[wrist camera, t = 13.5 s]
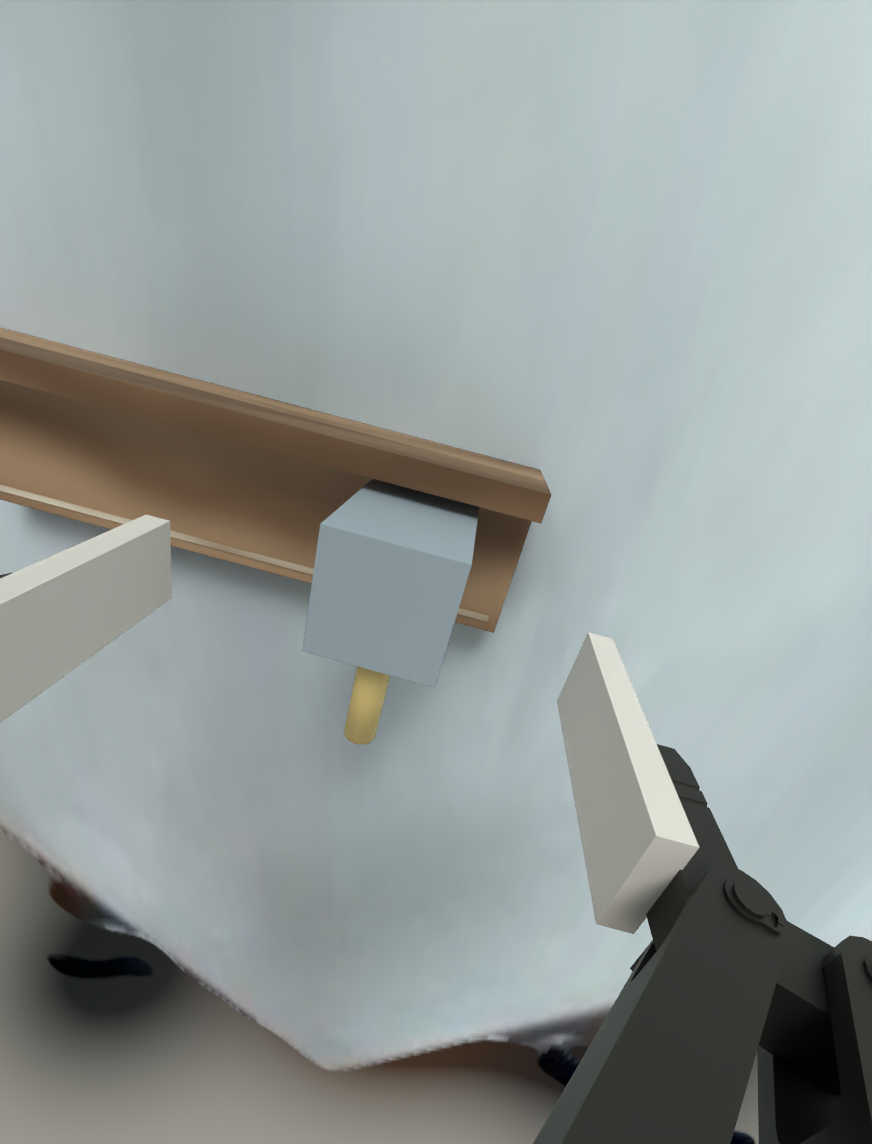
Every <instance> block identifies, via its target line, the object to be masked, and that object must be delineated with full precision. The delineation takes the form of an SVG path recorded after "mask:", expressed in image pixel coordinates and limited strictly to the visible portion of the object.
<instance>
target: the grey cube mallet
mask: <svg viewBox="0 0 872 1144" xmlns="http://www.w3.org/2000/svg"><path fill="white" fill-rule="evenodd" d="M478 513H479V507H478V506H474V505H470V504H466V503H463V502H459V501H455V500H451V499H448V498H444V497H440V496H436V495H432V494H429V493H425V492H421V491H417V490H414V489H410V488H406V487H402V486H399V485H395V484H391V483H387V482H383V481H380V480H376V479H372V480H371V481H370V482H368V483H367V484H366V485H365V486H364V487H363V488H361V489H360V490H359V491H358V492H357V493H356V494H354V495H353V496H352V497H351V498H350V499H349V500H348V501H346V502H345V503H344V504H343V505H342V506H341V507H339V508H338V509H337V510H336V511H335V512H334V513H332V514H331V515H330V516H329V517H328V518H327V519H325V520H324V521H323V522H322V523H321V524H320V530H319V537H318V544H317V551H316V558H315V565H314V572H313V579H312V586H311V592H310V599H309V606H308V613H307V620H306V627H305V634H304V641H303V648H302V651H304V652H308V653H311V654H315V655H318V656H322V657H326V658H329V659H333V660H337V661H340V662H344V663H347V664H351V665H355V666H358V667H357V671H356V676H355V681H354V686H353V691H352V695H351V700H350V705H349V710H348V715H347V720H346V724H345V729H344V734H345V736H346V738H347V739H348V740H349V741H351V742H352V743H355V744H367V743H370V742H371V741H372V740H373V739H374V738H375V735H376V731H377V727H378V723H379V719H380V715H381V711H382V706H383V702H384V698H385V694H386V690H387V686H388V682H389V678H390V675H391V676H394V677H398V678H402V679H405V680H409V681H412V682H416V683H420V684H423V685H427V686H431V687H434V688H435V685H436V682H437V679H438V676H439V672H440V669H441V666H442V662H443V659H444V656H445V652H446V649H447V646H448V642H449V639H450V636H451V632H452V629H453V626H454V622H455V619H456V616H457V612H458V609H459V606H460V602H461V599H462V596H463V592H464V589H465V586H466V582H467V579H468V576H469V572H470V569H471V566H472V559H473V551H474V544H475V536H476V528H477V521H478Z"/></svg>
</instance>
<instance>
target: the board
mask: <svg viewBox="0 0 872 1144" xmlns="http://www.w3.org/2000/svg"><path fill="white" fill-rule="evenodd" d="M372 479H376V480H380V481H383V482H387V483H391V484H395V485H399V486H402V487H406V488H410V489H414V490H417V491H421V492H425V493H429V494H432V495H436V496H440V497H444V498H448V499H451V500H455V501H459V502H463V503H466V504H470V505H474V506H478V507H479V513H478V521H477V528H476V536H475V544H474V551H473V559H472V566H471V569H470V572H469V576H468V579H467V582H466V586H465V589H464V592H463V596H462V599H461V602H460V606H459V609H458V612H457V616H456V619H455V622H457V623H460V624H464V625H468V626H471V627H475V628H479V629H483V630H486V631H490V632H494V630H495V628H496V625H497V622H498V619H499V616H500V613H501V610H502V607H503V604H504V601H505V598H506V595H507V592H508V589H509V586H510V583H511V580H512V577H513V574H514V572H515V569H516V566H517V563H518V560H519V557H520V554H521V551H522V548H523V545H524V542H525V539H526V536H527V533H528V530H529V527H530V524H531V521H534V522H538V523H542V520H543V517H544V514H545V511H546V508H547V506H548V503H549V500H550V497H551V493H550V491H549V489H548V486H547V484H546V482H545V480H544V477H543V475H542V473H541V470H538V469H534V468H531V467H527V466H523V465H519V464H516V463H512V462H508V461H504V460H500V459H497V458H493V457H489V456H485V455H481V454H478V453H474V452H470V451H466V450H462V449H459V448H455V447H451V446H447V445H443V444H440V443H436V442H432V441H428V440H425V439H421V438H417V437H413V436H409V435H406V434H402V433H398V432H394V431H390V430H387V429H383V428H379V427H375V426H371V425H368V424H364V423H360V422H356V421H352V420H349V419H345V418H341V417H337V416H333V415H330V414H326V413H322V412H318V411H315V410H311V409H307V408H303V407H299V406H296V405H292V404H288V403H284V402H280V401H277V400H273V399H269V398H265V397H261V396H258V395H254V394H250V393H246V392H242V391H239V390H235V389H231V388H227V387H224V386H220V385H216V384H212V383H208V382H205V381H201V380H197V379H193V378H189V377H186V376H182V375H178V374H174V373H170V372H167V371H163V370H159V369H155V368H151V367H148V366H144V365H140V364H136V363H133V362H129V361H125V360H121V359H117V358H114V357H110V356H106V355H102V354H98V353H95V352H91V351H87V350H83V349H79V348H76V347H72V346H68V345H64V344H60V343H57V342H53V341H49V340H45V339H42V338H38V337H34V336H30V335H26V334H23V333H19V332H15V331H11V330H7V329H4V328H0V500H4V501H8V502H12V503H15V504H19V505H23V506H26V507H30V508H34V509H37V510H41V511H45V512H49V513H52V514H56V515H60V516H63V517H67V518H71V519H75V520H78V521H82V522H86V523H89V524H93V525H97V526H101V527H104V528H108V529H114V528H116V527H119V526H121V525H123V524H126V523H128V522H130V521H132V520H135V519H137V518H139V517H142V516H144V515H150V516H154V517H157V518H161V519H165V520H169V521H170V537H171V546H175V547H178V548H182V549H186V550H190V551H193V552H197V553H201V554H204V555H208V556H212V557H215V558H219V559H223V560H227V561H230V562H234V563H238V564H241V565H245V566H249V567H253V568H256V569H260V570H264V571H267V572H271V573H275V574H279V575H282V576H286V577H290V578H293V579H297V580H301V581H305V582H308V583H312V579H313V572H314V565H315V558H316V551H317V544H318V537H319V530H320V524H321V523H322V522H323V521H324V520H325V519H327V518H328V517H329V516H330V515H331V514H332V513H334V512H335V511H336V510H337V509H338V508H339V507H341V506H342V505H343V504H344V503H345V502H346V501H348V500H349V499H350V498H351V497H352V496H353V495H354V494H356V493H357V492H358V491H359V490H360V489H361V488H363V487H364V486H365V485H366V484H367V483H368V482H370V481H371V480H372Z"/></svg>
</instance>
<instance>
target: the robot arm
mask: <svg viewBox="0 0 872 1144" xmlns="http://www.w3.org/2000/svg"><path fill="white" fill-rule="evenodd" d="M171 598H172V590H171V537H170V521H169V520H165V519H161V518H157V517H154V516H150V515H144V516H142V517H139V518H137V519H135V520H132V521H130V522H128V523H126V524H123V525H121V526H119V527H116V528H114V529H112V530H110V531H107V532H105V533H103V534H101V535H98V536H96V537H94V538H91V539H89V540H87V541H85V542H82V543H80V544H78V545H75V546H73V547H71V548H69V549H66V550H64V551H62V552H60V553H57V554H55V555H53V556H50V557H48V558H46V559H44V560H41V561H39V562H37V563H34V564H32V565H30V566H28V567H25V568H23V569H21V570H19V571H16V572H14V573H8V574H4V575H0V723H1V722H2V721H4V720H5V719H6V718H8V717H9V716H11V715H12V714H13V713H15V712H16V711H17V710H19V709H20V708H22V707H23V706H24V705H26V704H27V703H28V702H30V701H31V700H32V699H34V698H35V697H37V696H38V695H39V694H41V693H42V692H43V691H45V690H46V689H48V688H49V687H50V686H52V685H53V684H54V683H56V682H57V681H59V680H60V679H61V678H63V677H64V676H65V675H67V674H68V673H69V672H71V671H72V670H74V669H75V668H76V667H78V666H79V665H80V664H82V663H83V662H85V661H86V660H87V659H89V658H90V657H91V656H93V655H94V654H96V653H97V652H98V651H100V650H101V649H102V648H104V647H105V646H106V645H108V644H109V643H111V642H112V641H113V640H115V639H116V638H117V637H119V636H120V635H122V634H123V633H124V632H126V631H127V630H128V629H130V628H131V627H133V626H134V625H135V624H137V623H138V622H139V621H141V620H142V619H143V618H145V617H146V616H148V615H149V614H150V613H152V612H153V611H154V610H156V609H157V608H159V607H160V606H161V605H163V604H164V603H165V602H167V601H168V600H170V599H171ZM557 703H558V709H559V715H560V720H561V726H562V732H563V737H564V743H565V749H566V755H567V760H568V766H569V772H570V777H571V783H572V789H573V794H574V800H575V806H576V811H577V817H578V823H579V829H580V834H581V840H582V846H583V851H584V857H585V863H586V868H587V874H588V880H589V886H590V891H591V897H592V903H593V908H594V914H595V920H596V924H599V925H603V926H606V927H610V928H614V929H617V930H621V931H625V932H628V933H632V934H634V933H635V932H636V930H637V929H638V928H639V926H640V925H641V924H642V922H643V921H644V920H645V919H646V917H647V919H648V923H649V926H650V930H651V934H652V937H653V940H652V942H651V943H650V944H649V945H648V947H647V948H646V949H645V950H644V952H643V953H642V954H641V955H640V957H639V958H638V959H637V960H636V962H635V963H634V964H633V965H632V967H631V968H630V969H631V970H632V971H633V972H632V974H631V975H630V977H629V979H628V981H627V982H626V984H625V986H624V988H623V989H622V991H621V993H620V994H619V996H618V998H617V1000H616V1001H615V1003H614V1005H613V1006H612V1008H611V1010H610V1012H609V1013H608V1015H607V1017H606V1019H605V1020H604V1022H603V1024H602V1025H601V1027H600V1029H599V1031H598V1032H597V1034H596V1036H595V1038H594V1039H593V1041H592V1043H591V1044H590V1046H589V1048H588V1050H587V1051H586V1053H585V1055H584V1056H583V1058H582V1060H581V1062H580V1063H579V1065H578V1067H577V1069H576V1070H575V1072H574V1074H573V1075H572V1077H571V1079H570V1081H569V1082H568V1084H567V1086H566V1088H565V1089H564V1091H563V1093H562V1094H561V1096H560V1098H559V1100H558V1101H557V1103H556V1105H555V1106H554V1108H553V1110H552V1112H551V1113H550V1115H549V1117H548V1119H547V1120H546V1122H545V1124H544V1125H543V1128H542V1129H541V1131H540V1132H539V1134H538V1136H537V1138H536V1139H535V1141H534V1143H533V1144H730V1143H731V1139H732V1136H733V1132H734V1129H735V1126H736V1122H737V1119H738V1115H739V1112H740V1108H741V1105H742V1101H743V1097H744V1094H745V1090H746V1087H747V1084H748V1080H749V1076H750V1073H751V1069H752V1066H753V1063H754V1059H755V1056H756V1052H757V1053H758V1054H757V1056H758V1112H759V1113H758V1114H759V1144H872V941H870V940H868V939H865V938H863V937H856V936H849V937H847V938H846V939H844V940H843V941H842V942H840V943H839V944H838V945H837V946H836V947H835V948H834V947H832V946H830V945H829V944H827V943H825V942H823V941H822V940H820V939H818V938H816V937H814V936H813V935H811V934H809V933H807V932H805V931H804V930H802V929H800V928H798V927H797V926H795V925H793V924H791V923H790V922H788V921H787V920H786V918H785V916H784V914H783V911H782V909H781V908H780V907H779V905H778V904H777V903H776V901H775V900H774V898H773V897H772V896H771V894H770V893H769V892H768V891H767V890H766V889H764V888H763V887H762V886H761V885H760V884H759V883H758V882H757V881H756V880H755V879H753V878H752V877H750V876H749V875H747V874H746V873H744V872H743V871H741V870H739V869H738V867H737V865H736V863H735V861H734V859H733V857H732V855H731V853H730V851H729V848H728V846H727V844H726V842H725V840H724V838H723V836H722V834H721V832H720V829H719V827H718V825H717V823H716V821H715V819H714V817H713V815H712V813H711V810H710V808H707V802H706V800H705V798H704V796H703V794H702V791H699V788H700V787H699V785H698V783H697V781H696V779H695V777H694V775H693V772H692V770H691V768H690V767H689V766H688V765H687V763H686V762H685V761H684V760H683V759H682V757H681V756H680V755H679V754H678V753H677V752H676V750H675V749H673V748H669V747H665V746H662V745H658V744H656V742H655V739H654V737H653V734H652V732H651V730H650V727H649V725H648V722H647V720H646V718H645V715H644V713H643V710H642V708H641V705H640V703H639V701H638V698H637V696H636V693H635V691H634V689H633V686H632V684H631V681H630V679H629V677H628V674H627V672H626V669H625V667H624V664H623V662H622V660H621V657H620V655H619V652H618V650H617V648H616V645H615V643H614V640H613V639H612V638H608V637H604V636H600V635H597V634H593V633H589V632H588V634H587V636H586V638H585V640H584V643H583V645H582V647H581V649H580V652H579V654H578V656H577V658H576V660H575V663H574V665H573V667H572V669H571V672H570V674H569V676H568V678H567V680H566V683H565V685H564V687H563V689H562V692H561V694H560V696H559V698H558V701H557Z"/></svg>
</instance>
